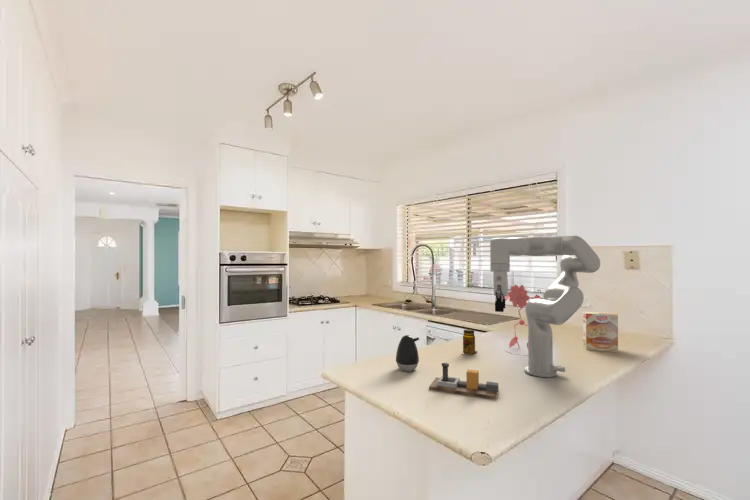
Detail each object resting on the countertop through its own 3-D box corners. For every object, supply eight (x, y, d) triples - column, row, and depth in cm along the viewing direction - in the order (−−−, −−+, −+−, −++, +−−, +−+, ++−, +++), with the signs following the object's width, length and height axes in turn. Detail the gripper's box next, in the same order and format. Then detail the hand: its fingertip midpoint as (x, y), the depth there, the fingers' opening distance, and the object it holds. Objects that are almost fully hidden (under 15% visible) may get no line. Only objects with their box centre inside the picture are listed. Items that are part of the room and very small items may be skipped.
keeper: (498, 388, 136) (498, 365, 137) (495, 399, 126) (495, 374, 126) (436, 380, 146) (436, 358, 146) (429, 389, 136) (428, 366, 136)
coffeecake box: (586, 350, 191) (585, 313, 191) (582, 346, 198) (582, 311, 198) (618, 352, 187) (618, 314, 187) (614, 348, 193) (613, 312, 194)
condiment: (461, 354, 184) (461, 331, 184) (463, 350, 192) (463, 327, 192) (476, 355, 181) (476, 331, 181) (477, 351, 189) (477, 328, 189)
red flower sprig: (507, 343, 205) (506, 282, 205) (549, 354, 183) (548, 285, 183) (488, 348, 197) (487, 284, 197) (531, 359, 175) (529, 287, 175)
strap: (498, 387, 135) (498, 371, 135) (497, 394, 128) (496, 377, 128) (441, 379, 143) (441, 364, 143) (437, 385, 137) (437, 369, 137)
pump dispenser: (418, 373, 154) (418, 338, 154) (394, 372, 156) (394, 337, 156) (420, 366, 164) (420, 333, 164) (397, 365, 166) (397, 332, 166)
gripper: (508, 269, 138) (508, 313, 138) (510, 267, 154) (511, 307, 154) (488, 268, 141) (488, 312, 141) (492, 267, 157) (492, 306, 157)
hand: (500, 309), depth 147 cm, fingers open, 9 cm apart
